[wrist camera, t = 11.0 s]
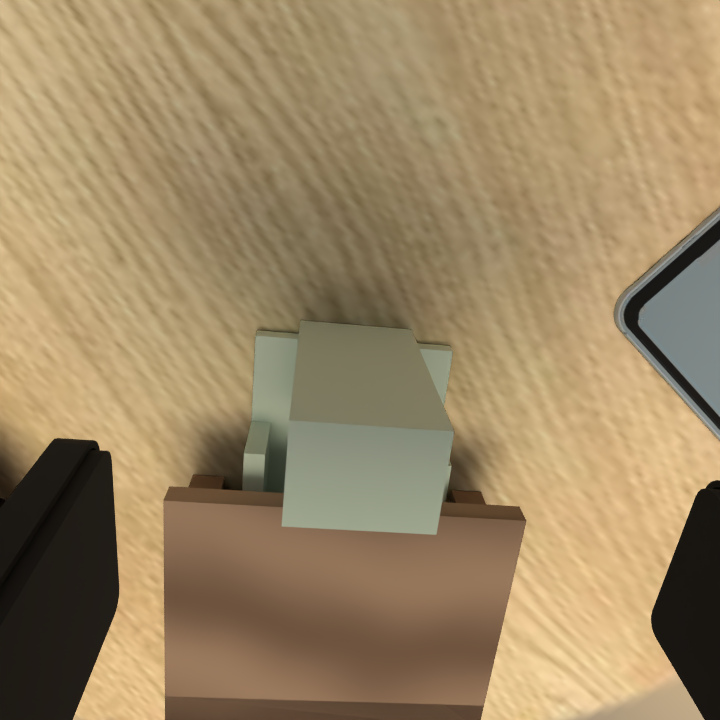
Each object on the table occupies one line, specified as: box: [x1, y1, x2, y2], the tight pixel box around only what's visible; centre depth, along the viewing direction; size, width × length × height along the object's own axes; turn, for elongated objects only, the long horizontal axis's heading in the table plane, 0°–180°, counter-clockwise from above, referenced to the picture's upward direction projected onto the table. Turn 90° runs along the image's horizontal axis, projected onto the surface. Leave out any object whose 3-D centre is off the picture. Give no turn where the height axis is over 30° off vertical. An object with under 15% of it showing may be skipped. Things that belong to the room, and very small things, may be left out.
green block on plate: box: [242, 320, 454, 535], centre depth 21 cm, size 10×7×8 cm
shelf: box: [164, 475, 526, 720], centre depth 24 cm, size 9×11×5 cm
